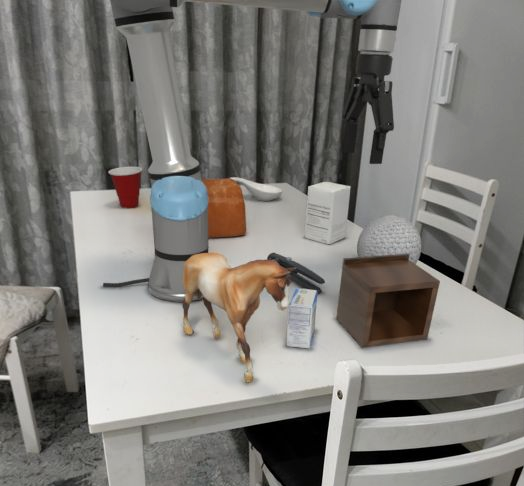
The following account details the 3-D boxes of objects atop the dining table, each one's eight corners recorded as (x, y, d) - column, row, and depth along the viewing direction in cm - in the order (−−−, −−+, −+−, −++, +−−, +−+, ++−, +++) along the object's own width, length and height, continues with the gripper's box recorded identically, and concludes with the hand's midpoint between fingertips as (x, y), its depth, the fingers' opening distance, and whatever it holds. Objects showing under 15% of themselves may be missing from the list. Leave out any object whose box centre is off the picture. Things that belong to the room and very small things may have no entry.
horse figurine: (290, 384, 86) (299, 266, 76) (251, 398, 82) (255, 276, 72) (199, 312, 108) (197, 213, 98) (165, 321, 104) (158, 219, 94)
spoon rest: (280, 195, 196) (281, 175, 192) (284, 203, 186) (285, 182, 182) (216, 194, 194) (216, 174, 190) (217, 202, 184) (216, 181, 180)
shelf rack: (361, 347, 98) (371, 282, 91) (336, 319, 108) (343, 258, 101) (427, 339, 102) (441, 275, 95) (396, 312, 111) (407, 253, 105)
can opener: (259, 274, 127) (260, 252, 125) (280, 268, 131) (281, 246, 129) (310, 299, 116) (312, 275, 113) (332, 291, 120) (334, 268, 117)
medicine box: (309, 349, 96) (313, 307, 92) (285, 346, 97) (288, 304, 93) (314, 330, 103) (318, 289, 99) (292, 327, 104) (294, 287, 100)
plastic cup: (111, 202, 179) (107, 166, 173) (143, 201, 182) (140, 165, 176) (113, 211, 170) (108, 172, 164) (146, 209, 173) (144, 171, 167)
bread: (249, 237, 152) (250, 184, 144) (164, 242, 145) (161, 188, 138) (234, 220, 166) (235, 172, 158) (156, 224, 159) (153, 174, 152)
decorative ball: (374, 292, 120) (384, 228, 113) (342, 269, 132) (349, 210, 125) (428, 284, 125) (440, 222, 118) (392, 263, 137) (401, 205, 130)
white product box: (320, 231, 159) (325, 180, 152) (345, 237, 154) (352, 186, 147) (303, 237, 153) (307, 185, 145) (329, 245, 148) (334, 191, 141)
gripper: (423, 56, 103) (403, 168, 113) (363, 53, 123) (351, 148, 134) (389, 54, 101) (372, 169, 111) (334, 51, 121) (325, 148, 132)
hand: (361, 158), depth 123 cm, fingers open, 13 cm apart
